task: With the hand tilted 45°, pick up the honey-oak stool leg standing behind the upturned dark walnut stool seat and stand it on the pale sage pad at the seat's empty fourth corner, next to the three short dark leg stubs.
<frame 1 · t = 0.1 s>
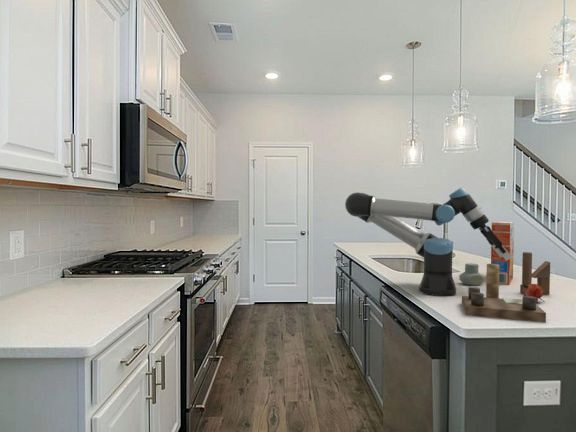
hand: (506, 257, 178), 15 cm above the counter, tool tilted 35°, fingers open, 13 cm apart
air freshener: (471, 284, 194), on the counter
pomegranate: (533, 302, 159), on the counter
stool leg: (492, 302, 157), on the counter
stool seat: (500, 311, 143), on the counter
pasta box: (502, 281, 205), on the counter
wooden block: (534, 294, 174), on the counter
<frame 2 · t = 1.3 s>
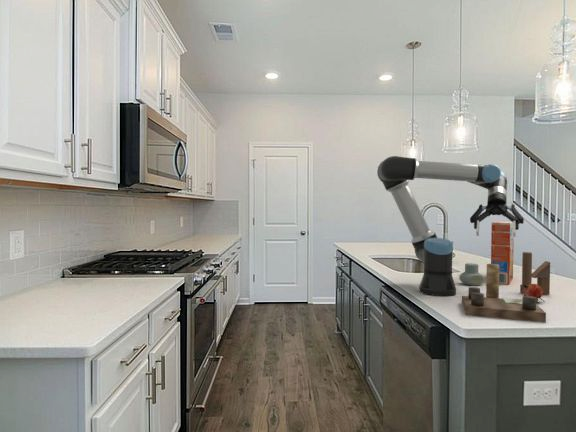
hand: (495, 234, 166), 26 cm above the counter, tool tilted 45°, fingers open, 13 cm apart
nothing on the counter moved.
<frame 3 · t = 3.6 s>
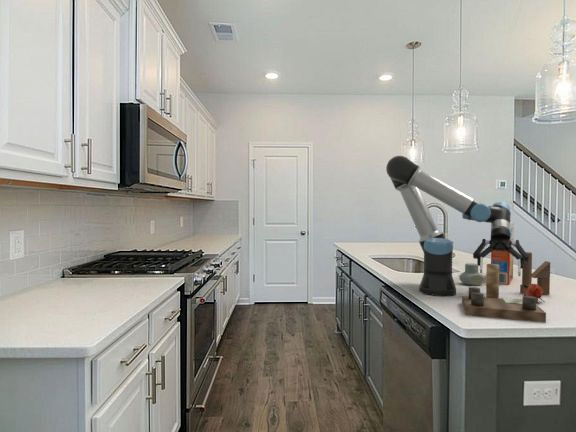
hand: (499, 273, 160), 11 cm above the counter, tool tilted 45°, fingers open, 13 cm apart
nothing on the counter moved.
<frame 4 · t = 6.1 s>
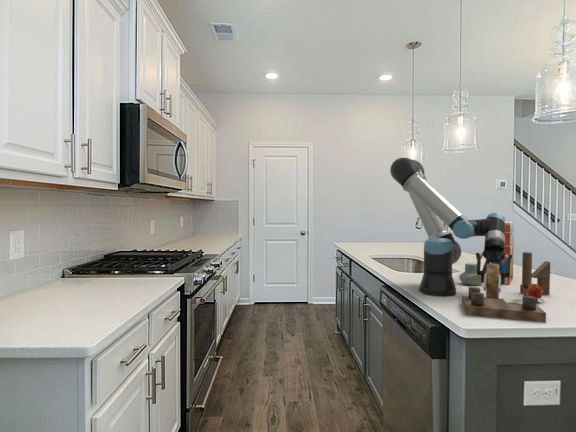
hand: (492, 289, 154), 6 cm above the counter, tool tilted 45°, fingers closed on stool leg, 4 cm apart
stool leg: (492, 302, 157), on the counter, touching gripper
everything else where it was.
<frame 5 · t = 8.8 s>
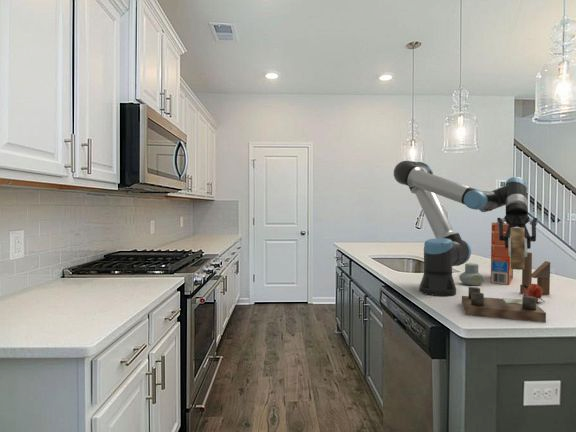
hand: (517, 254, 143), 21 cm above the counter, tool tilted 45°, fingers closed on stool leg, 4 cm apart
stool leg: (517, 268, 146), point 15 cm above the counter, touching gripper
everything else where it was.
when the fingers open (11 cm above the counter, at t = 11.4 s): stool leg drops 1 cm, resting on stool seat.
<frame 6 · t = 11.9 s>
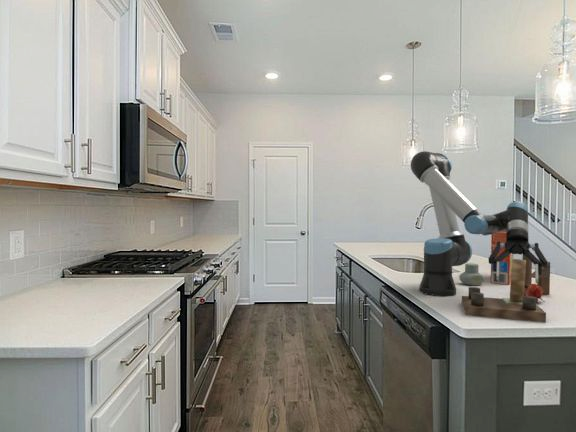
hand: (516, 279, 143), 12 cm above the counter, tool tilted 45°, fingers open, 11 cm apart
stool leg: (516, 300, 146), point 3 cm above the counter, touching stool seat
everything else where it was.
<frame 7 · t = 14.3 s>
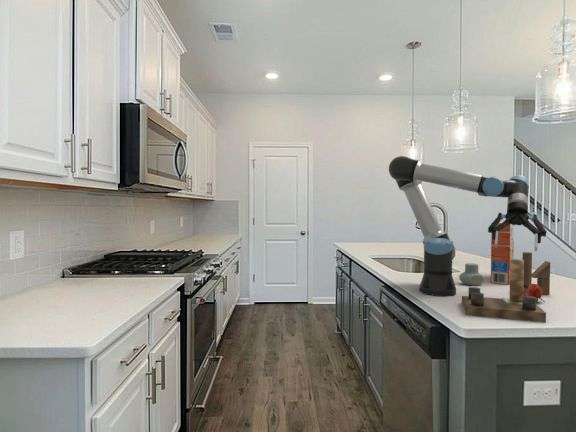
hand: (515, 247, 156), 22 cm above the counter, tool tilted 40°, fingers open, 13 cm apart
nothing on the counter moved.
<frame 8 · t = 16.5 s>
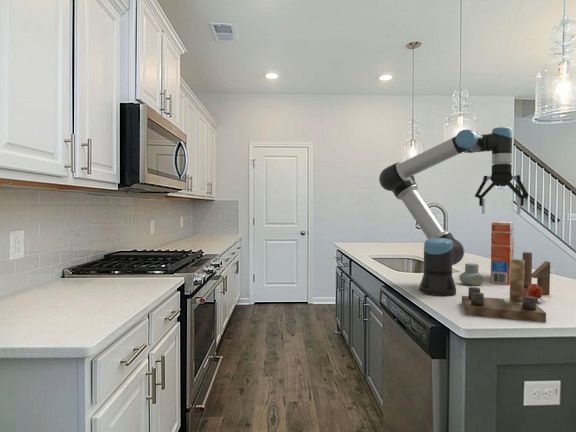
hand: (500, 214, 171), 35 cm above the counter, tool pointing down, fingers open, 13 cm apart
nothing on the counter moved.
at the end: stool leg 0.1 cm from the target spot on the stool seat, point 3.3 cm above the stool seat's base; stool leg tilted 1°; the gripper is holding nothing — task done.
